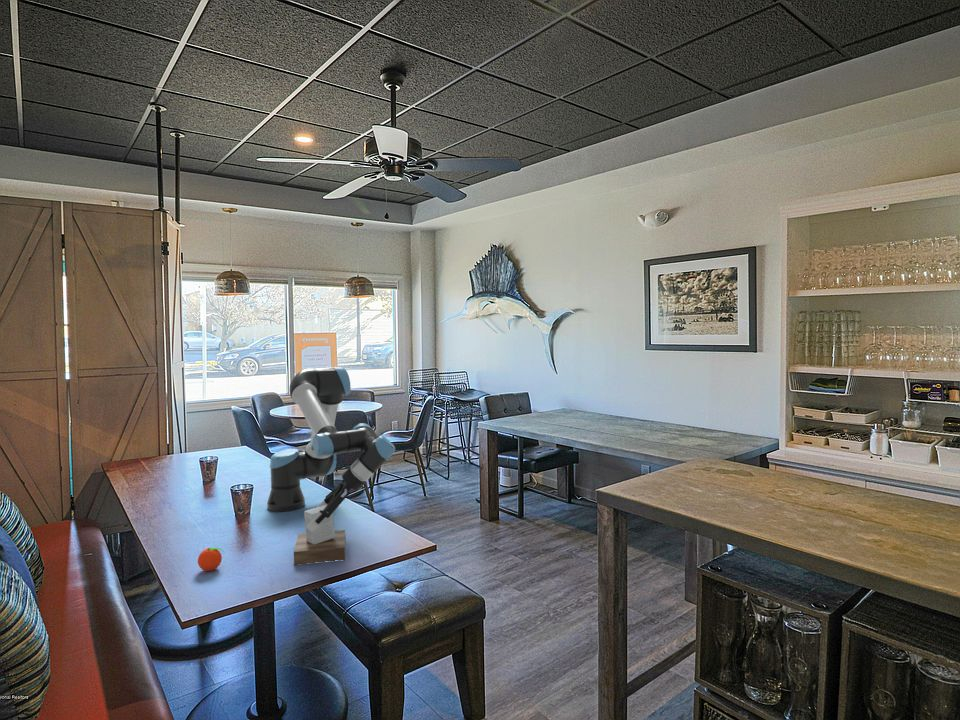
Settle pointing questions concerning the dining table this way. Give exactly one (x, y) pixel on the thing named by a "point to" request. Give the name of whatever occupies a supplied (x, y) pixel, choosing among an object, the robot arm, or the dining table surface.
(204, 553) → the clementine
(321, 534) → the small box
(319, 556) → the walnut block
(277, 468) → the robot arm
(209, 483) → the dining table surface
